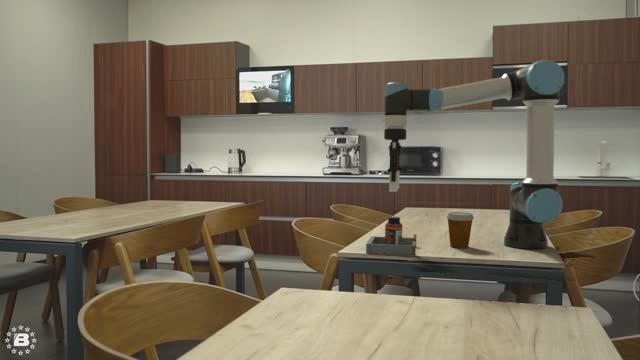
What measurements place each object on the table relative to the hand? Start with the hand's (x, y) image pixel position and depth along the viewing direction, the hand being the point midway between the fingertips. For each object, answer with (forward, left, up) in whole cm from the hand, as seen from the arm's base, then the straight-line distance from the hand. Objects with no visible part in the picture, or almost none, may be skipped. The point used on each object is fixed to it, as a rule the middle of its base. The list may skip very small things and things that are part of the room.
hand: (394, 190), depth 201 cm
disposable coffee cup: (-23, -12, -21) cm, 33 cm away
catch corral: (0, 0, -20) cm, 21 cm away
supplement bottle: (0, 0, -21) cm, 21 cm away
